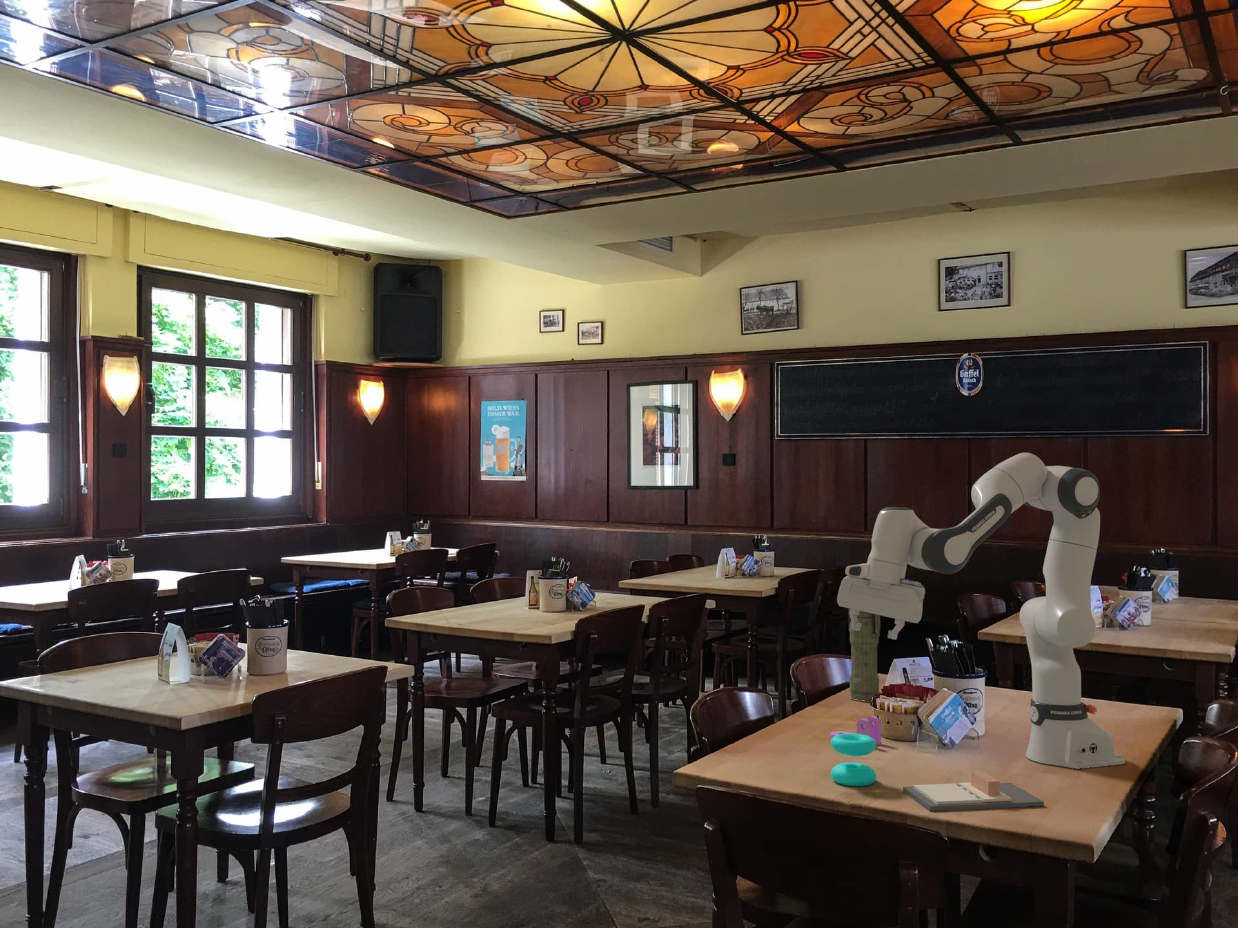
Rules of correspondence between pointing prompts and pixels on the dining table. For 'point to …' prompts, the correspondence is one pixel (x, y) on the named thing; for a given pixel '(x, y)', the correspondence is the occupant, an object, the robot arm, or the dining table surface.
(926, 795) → the pad
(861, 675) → the thermos
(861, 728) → the bracket
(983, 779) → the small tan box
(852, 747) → the donuts
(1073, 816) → the dining table surface
